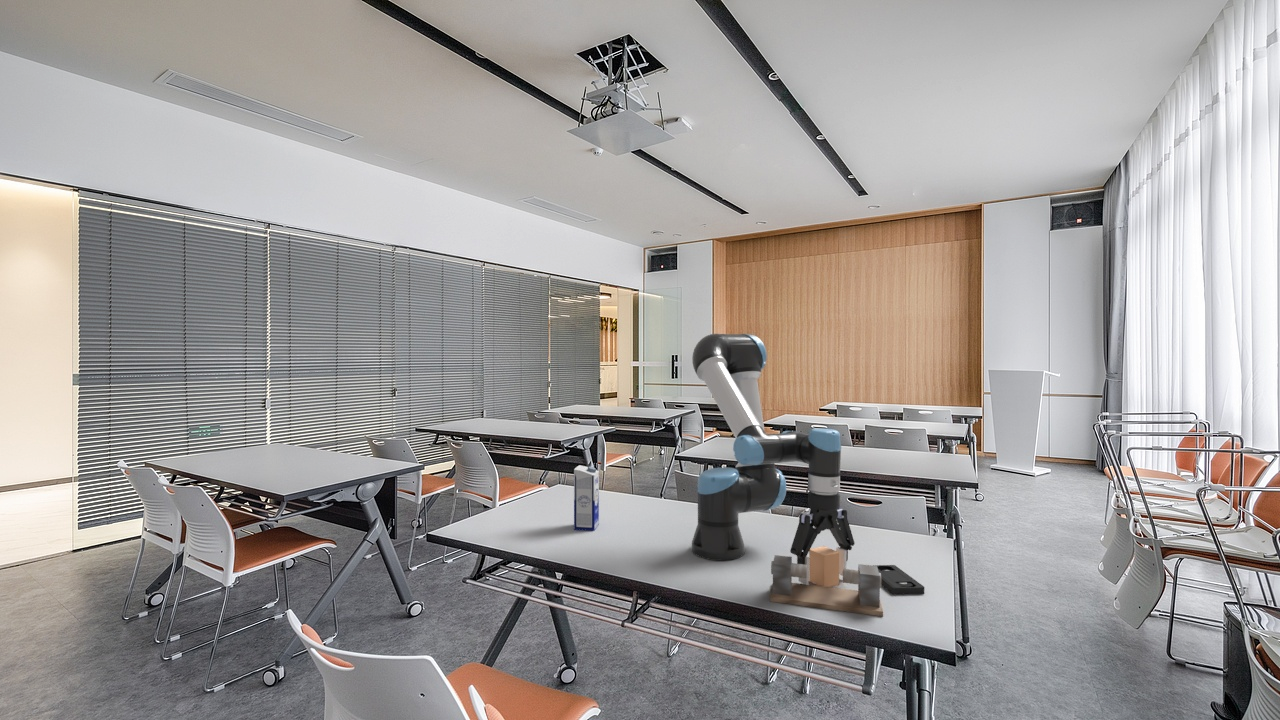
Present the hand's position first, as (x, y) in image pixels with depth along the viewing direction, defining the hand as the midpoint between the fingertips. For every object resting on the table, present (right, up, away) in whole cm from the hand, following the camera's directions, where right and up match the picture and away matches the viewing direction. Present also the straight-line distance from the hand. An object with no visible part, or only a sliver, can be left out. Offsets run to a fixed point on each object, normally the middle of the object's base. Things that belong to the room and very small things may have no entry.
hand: (822, 578), depth 138 cm
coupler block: (0, -1, 0) cm, 1 cm away
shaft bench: (-3, -1, -9) cm, 10 cm away
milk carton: (-63, -1, +45) cm, 77 cm away
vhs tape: (+18, -2, +1) cm, 18 cm away
